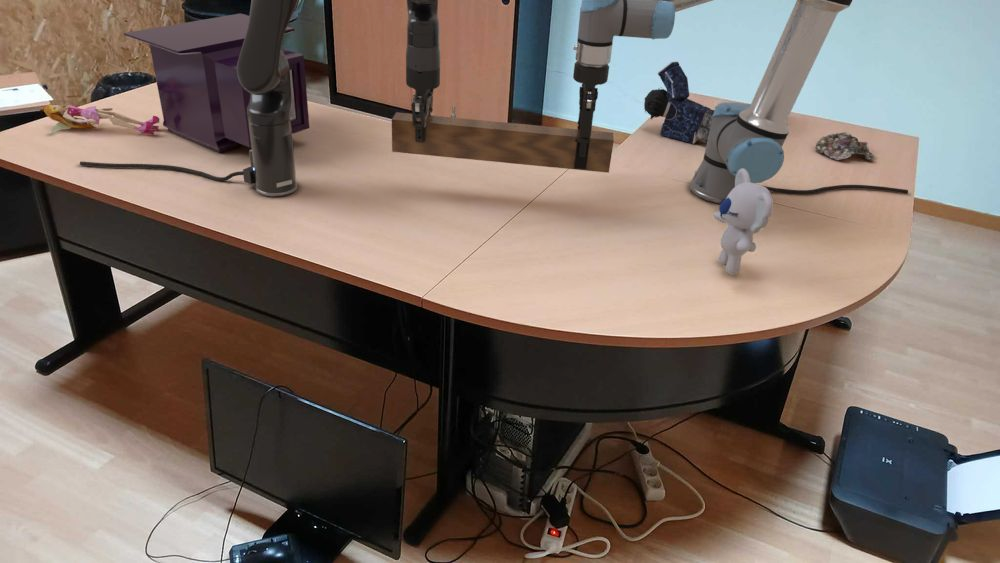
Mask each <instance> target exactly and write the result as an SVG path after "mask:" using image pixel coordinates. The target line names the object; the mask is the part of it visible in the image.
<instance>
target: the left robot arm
mask: <svg viewBox="0 0 1000 563" xmlns="http://www.w3.org/2000/svg"><path fill="white" fill-rule="evenodd" d="M298 2H299V0H251V2H250V9H249V15H248V16H249V23H248V28H247V32H246V36H245V39H244V42H243V46H242V49H241V52H240V56H239V59H238V62H237V76H238V79H239V82H240V84H241V85H242V87H243V88H244V89H245V90H246V91H247V92H249V93H251V94H250V100H249V104H248V106H247V118H248V124H249V132H250V140H251V147H250V148H249V150H248V157H249V164H250V166H248V167H246V168H243V169H242V171H235V172H231V173H229V174H227V175H226V176H222V177H219V176H215V175H211V174H209V173H207V172H204V171H200V170H196V169H191V168H187V167H184V166H177V165H169V164H155V163H153V164H152V163H108V162H95V161H94V162H92V161H80V162H79V165H80V166H87V167H101V168H138V169H139V168H143V169H161V170H162V169H165V170H174V171H181V172H185V173H190V174H194V175H198V176H201V177H204V178H207V179H208V180H209V179H210V180H213V181H216V182H226V181H228V180H230V179H232V178H233V177H238V176H243V182H244V183H246V184H249V185H252V187H253V189H255V191H256V192H257V193H258V194H260V195H262V196H265V197H284V196H288V195H291V194H293V193H294V192H295V191H297V189H298V183H297V175H296V164H295V155H294V154H295V153H294V143H293V134H292V131H291V121H290V107H291V81H290V69H289V64H288V61H287V58H286V56H285V54H284V53H283V52H282V51H281V48H282V42H283V40H284V36H285V35H284V33H285V30H286V28H287V27H289V26H288V25H289V23H290V21H291V19H292V18H293V15H294V13H295V10H296V8H297V5H298ZM406 9H407V24H406V51H405V84H406V86H407V87H409V88H410V89H414V94H413V95H412V102H411V114H412V121H413V123H412V125H413V126H414V127H415V141H416V142H421V143H424V142H425V126H426V117H428V115H431V116H432V113H433V106H434V104H433V103H434V90H435V89H438V88H439V87H440V84H441V49H440V48H441V47H440V20H439V15H438V14H439V12H438V11H439V10H438V9H439V0H406ZM418 118H420V119H421V121H417V120H418Z"/></svg>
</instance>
